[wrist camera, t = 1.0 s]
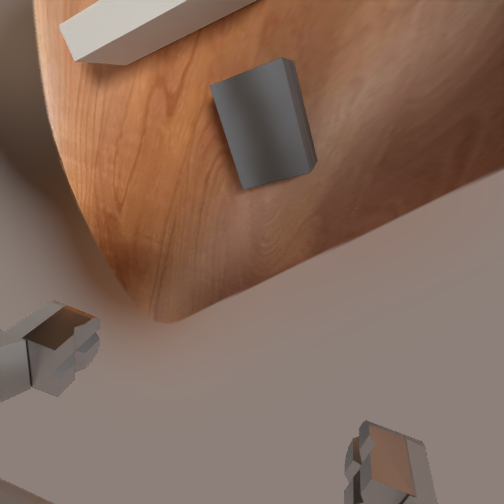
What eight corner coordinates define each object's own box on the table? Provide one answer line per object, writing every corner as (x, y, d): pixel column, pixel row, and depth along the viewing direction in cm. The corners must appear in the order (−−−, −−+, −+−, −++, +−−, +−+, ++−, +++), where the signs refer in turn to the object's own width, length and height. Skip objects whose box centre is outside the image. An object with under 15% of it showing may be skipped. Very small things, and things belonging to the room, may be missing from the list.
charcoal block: (294, 61, 34) (281, 57, 29) (317, 160, 37) (310, 172, 32) (231, 85, 37) (209, 85, 31) (258, 176, 40) (243, 189, 35)
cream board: (265, -47, 31) (237, -85, 24) (275, -9, 32) (251, -35, 25) (114, 36, 38) (58, 25, 31) (126, 65, 39) (74, 61, 32)
